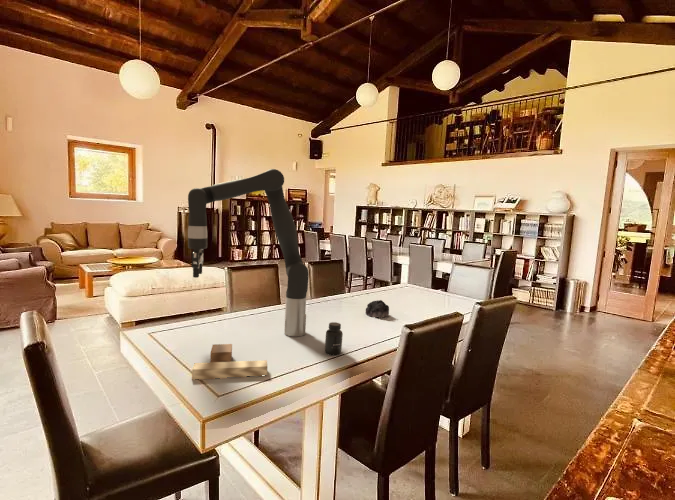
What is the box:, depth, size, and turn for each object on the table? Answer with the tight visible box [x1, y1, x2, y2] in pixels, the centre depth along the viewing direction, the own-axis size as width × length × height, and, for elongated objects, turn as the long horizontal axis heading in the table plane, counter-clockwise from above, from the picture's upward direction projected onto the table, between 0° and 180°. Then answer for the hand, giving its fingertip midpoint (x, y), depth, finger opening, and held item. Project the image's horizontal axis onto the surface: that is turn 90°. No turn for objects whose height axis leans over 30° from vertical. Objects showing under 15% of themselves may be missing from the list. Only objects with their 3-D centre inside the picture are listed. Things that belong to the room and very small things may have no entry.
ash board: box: [191, 359, 268, 381], centre depth 124 cm, size 24×5×4 cm, turn 103°
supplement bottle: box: [324, 321, 343, 356], centre depth 148 cm, size 7×7×12 cm
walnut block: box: [209, 343, 233, 363], centre depth 134 cm, size 7×8×5 cm
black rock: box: [365, 299, 390, 318], centre depth 207 cm, size 13×14×10 cm
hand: (197, 275), depth 153 cm, fingers open, 8 cm apart
